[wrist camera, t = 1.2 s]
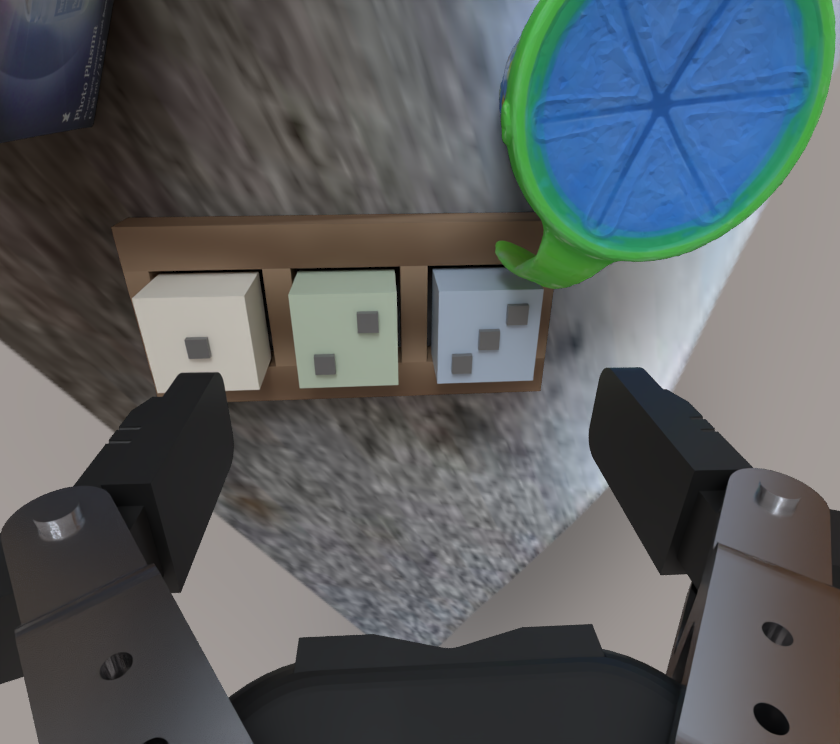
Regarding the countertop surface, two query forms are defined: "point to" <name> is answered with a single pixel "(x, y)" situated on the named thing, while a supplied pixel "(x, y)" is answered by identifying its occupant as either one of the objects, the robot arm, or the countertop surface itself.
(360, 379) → the tile two
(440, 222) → the board
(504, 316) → the tile three
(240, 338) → the tile one
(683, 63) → the snack cup
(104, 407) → the countertop surface
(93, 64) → the small box
